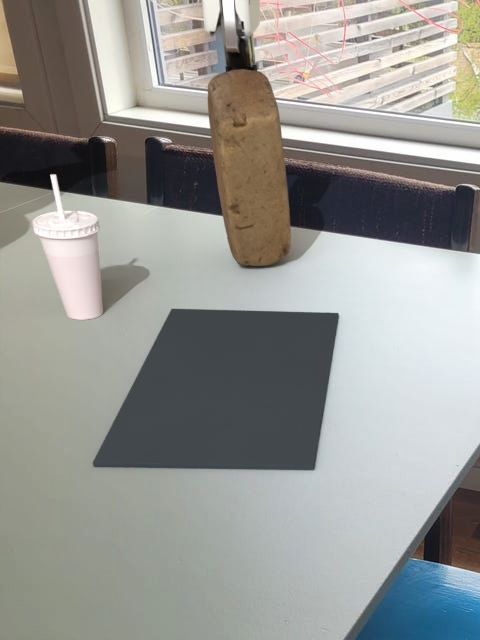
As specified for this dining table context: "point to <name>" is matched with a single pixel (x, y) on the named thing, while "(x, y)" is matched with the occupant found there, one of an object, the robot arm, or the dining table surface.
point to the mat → (227, 393)
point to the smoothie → (72, 257)
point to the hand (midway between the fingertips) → (245, 105)
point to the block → (250, 166)
